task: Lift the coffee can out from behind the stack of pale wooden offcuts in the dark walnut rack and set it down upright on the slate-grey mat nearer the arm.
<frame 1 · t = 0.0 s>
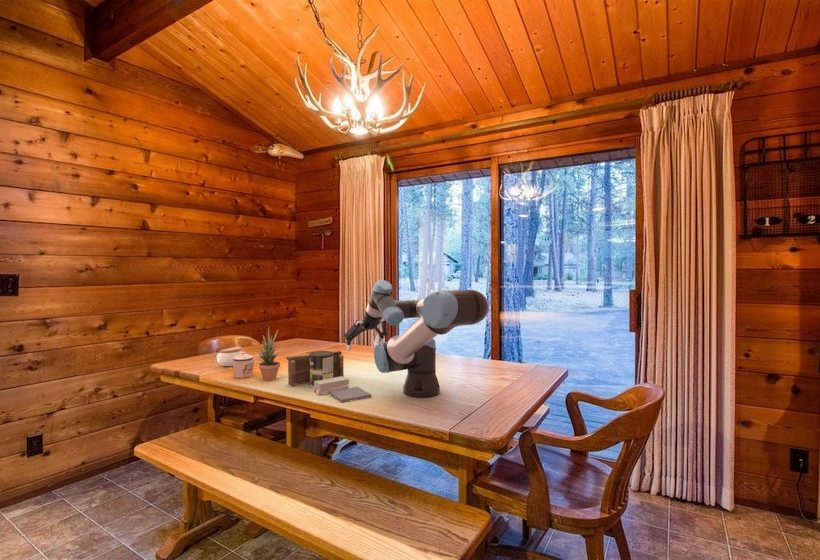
hand: (361, 347, 191), 15 cm above the table, tool tilted 35°, fingers open, 13 cm apart
coffee can: (321, 385, 186), on the table
lidded bowl: (229, 365, 224), on the table
upper offcut: (331, 386, 177), point 2 cm above the table, touching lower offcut
potted plant: (269, 379, 196), on the table
slate mat: (349, 395, 170), on the table
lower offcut: (330, 392, 177), on the table, touching upper offcut
walnut rack: (323, 386, 183), on the table
teacup with lid: (245, 375, 203), on the table
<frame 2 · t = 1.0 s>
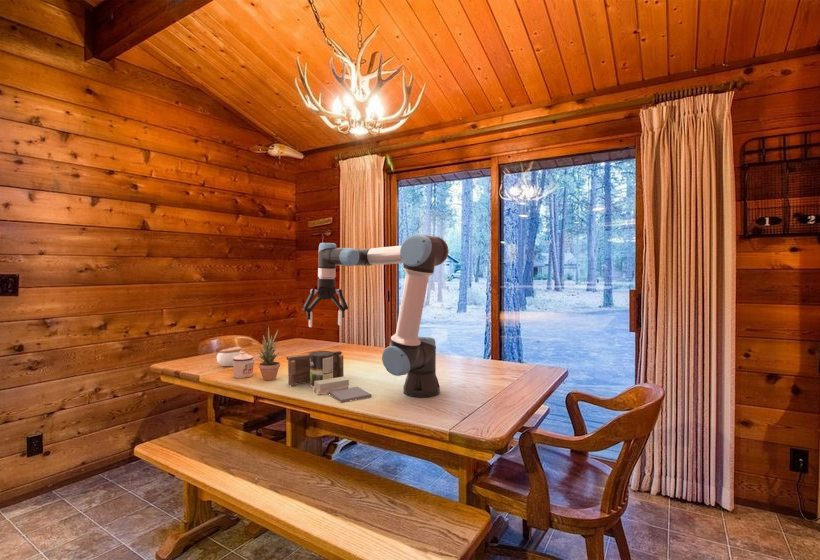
hand: (325, 326, 186), 26 cm above the table, tool pointing down, fingers open, 13 cm apart
nothing on the table moved.
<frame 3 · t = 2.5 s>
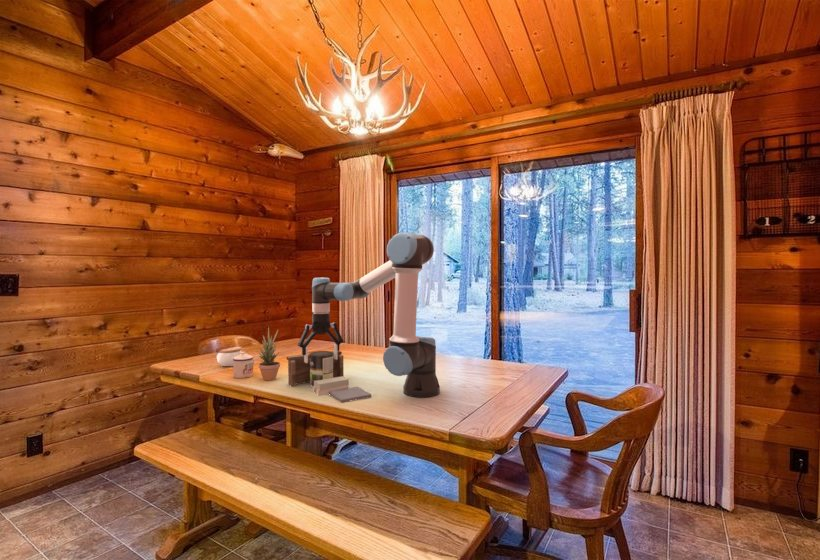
hand: (321, 360, 185), 11 cm above the table, tool pointing down, fingers open, 13 cm apart
upper offcut: (331, 386, 177), point 2 cm above the table
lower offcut: (330, 392, 176), on the table
everything else where it was.
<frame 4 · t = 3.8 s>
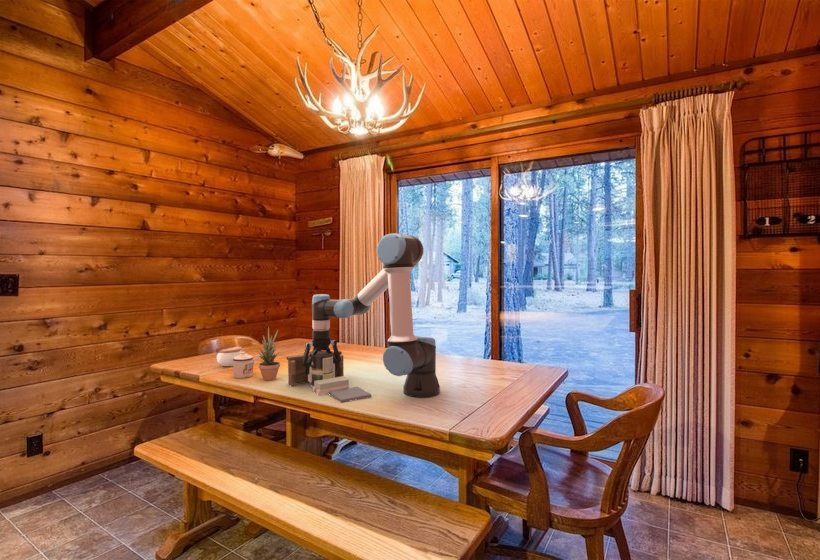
hand: (321, 379, 186), 2 cm above the table, tool pointing down, fingers closed on coffee can, 10 cm apart
coffee can: (321, 385, 186), on the table, touching gripper
upper offcut: (331, 386, 177), point 2 cm above the table, touching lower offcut
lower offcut: (330, 392, 176), on the table, touching upper offcut
everything else where it was.
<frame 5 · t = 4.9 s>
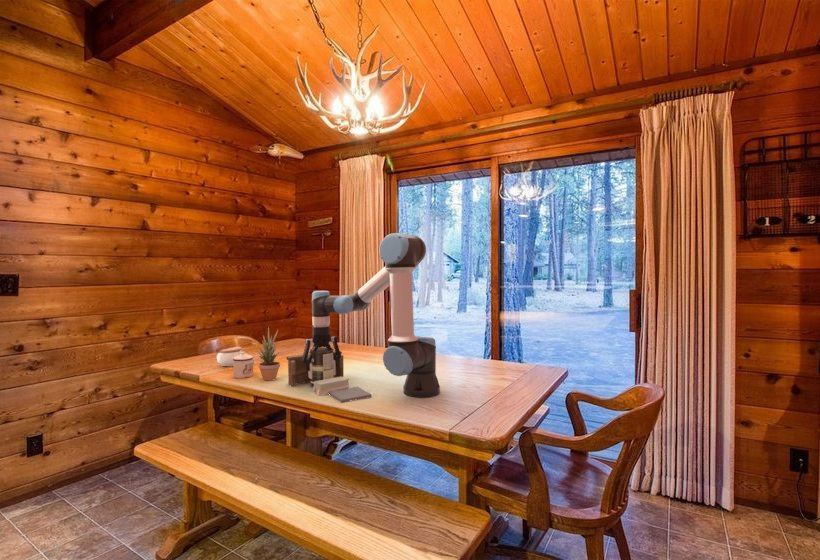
hand: (322, 376, 185), 4 cm above the table, tool pointing down, fingers closed on coffee can, 10 cm apart
coffee can: (322, 381, 185), point 1 cm above the table, touching gripper
upper offcut: (331, 386, 176), point 2 cm above the table
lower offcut: (330, 392, 176), on the table
everything else where it was.
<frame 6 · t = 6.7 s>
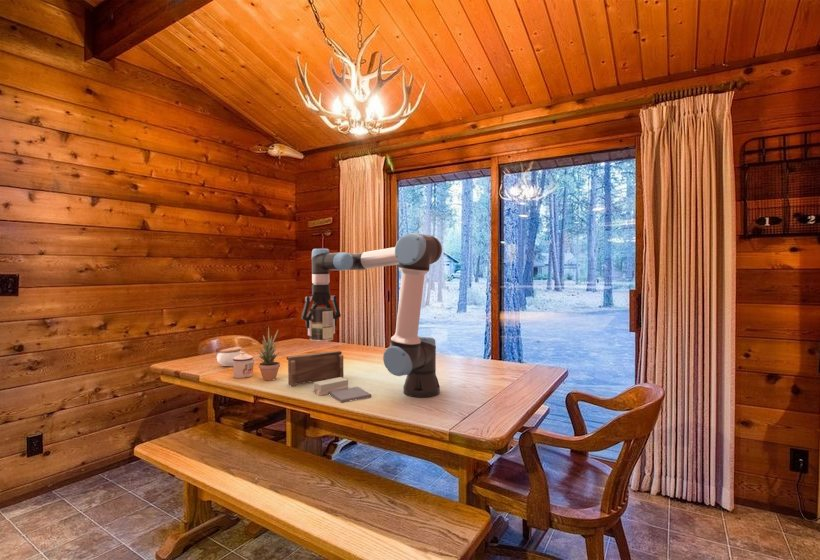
hand: (321, 334, 185), 22 cm above the table, tool pointing down, fingers closed on coffee can, 10 cm apart
coffee can: (321, 340, 185), point 20 cm above the table, touching gripper
upper offcut: (331, 386, 176), point 2 cm above the table, touching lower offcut
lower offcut: (330, 392, 176), on the table, touching upper offcut
everything else where it was.
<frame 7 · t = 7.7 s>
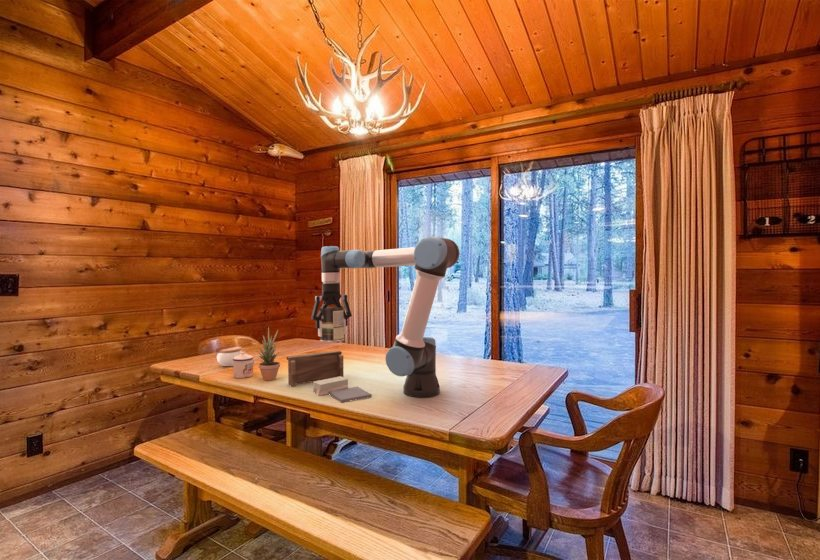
hand: (332, 335, 179), 23 cm above the table, tool pointing down, fingers closed on coffee can, 10 cm apart
coffee can: (332, 340, 179), point 21 cm above the table, touching gripper
everything else where it was.
when the fingers open (5 cm above the table, at t = 11.4 s): coffee can drops 1 cm, resting on slate mat.
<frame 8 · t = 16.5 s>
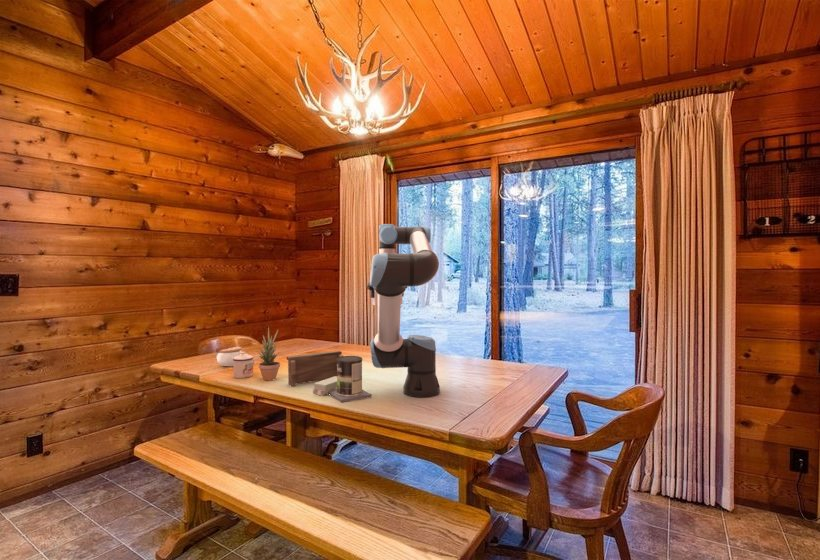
hand: (387, 304, 193), 35 cm above the table, tool pointing down, fingers open, 13 cm apart
coffee can: (349, 393, 170), point 1 cm above the table, touching slate mat
upper offcut: (330, 386, 176), point 2 cm above the table
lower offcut: (330, 392, 176), on the table
everything else where it was.
at the end: coffee can inside the target area on the slate mat (0.0 cm from its centre), point 0.8 cm above the slate mat's base; coffee can tilted 0°; the gripper is holding nothing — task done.
